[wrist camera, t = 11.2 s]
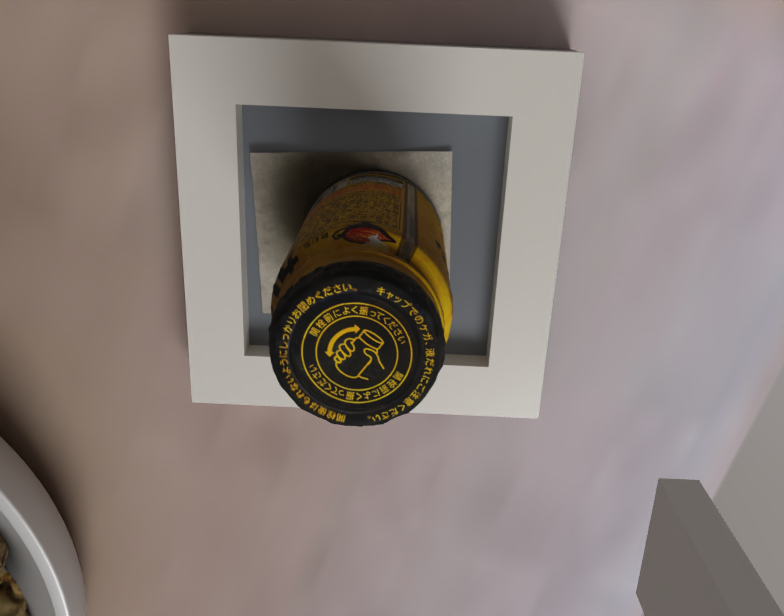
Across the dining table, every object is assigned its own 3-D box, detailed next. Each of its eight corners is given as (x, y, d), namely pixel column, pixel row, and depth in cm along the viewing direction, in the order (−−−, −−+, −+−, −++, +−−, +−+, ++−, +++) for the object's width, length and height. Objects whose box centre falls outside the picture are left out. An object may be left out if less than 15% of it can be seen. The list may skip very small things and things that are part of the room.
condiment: (449, 311, 34) (467, 457, 23) (263, 311, 34) (192, 455, 23) (452, 150, 31) (475, 225, 20) (251, 151, 32) (164, 225, 21)
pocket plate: (529, 391, 37) (537, 418, 35) (206, 375, 37) (192, 402, 35) (570, 49, 31) (584, 52, 29) (187, 32, 31) (168, 34, 29)
